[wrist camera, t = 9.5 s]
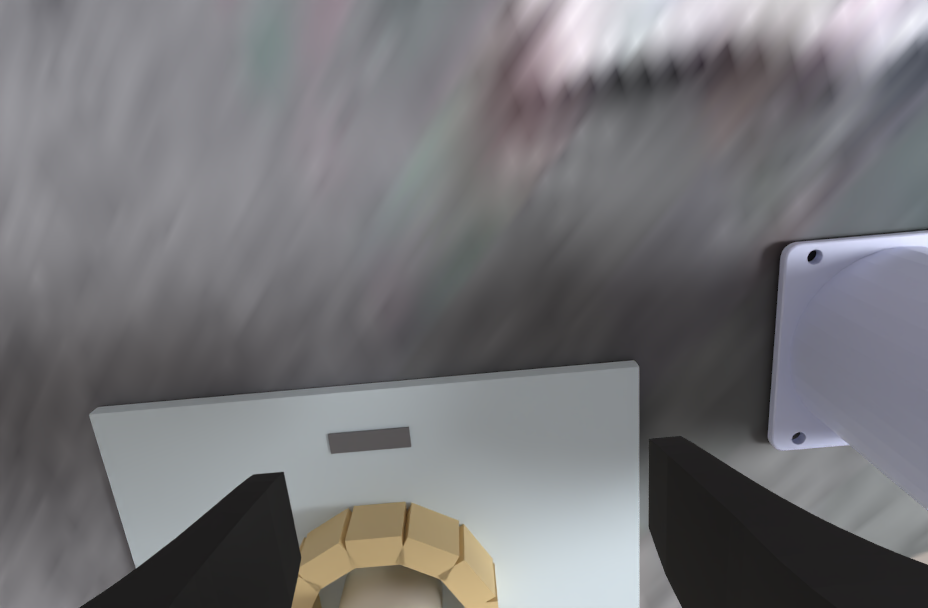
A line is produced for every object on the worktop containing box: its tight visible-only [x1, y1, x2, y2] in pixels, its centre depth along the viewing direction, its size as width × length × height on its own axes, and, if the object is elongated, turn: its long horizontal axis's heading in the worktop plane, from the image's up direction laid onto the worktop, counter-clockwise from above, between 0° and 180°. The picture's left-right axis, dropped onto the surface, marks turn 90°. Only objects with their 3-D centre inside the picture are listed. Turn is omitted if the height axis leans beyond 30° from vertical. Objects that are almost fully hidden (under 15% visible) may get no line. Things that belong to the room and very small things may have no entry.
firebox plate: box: [89, 360, 639, 608], centre depth 24 cm, size 20×18×3 cm
